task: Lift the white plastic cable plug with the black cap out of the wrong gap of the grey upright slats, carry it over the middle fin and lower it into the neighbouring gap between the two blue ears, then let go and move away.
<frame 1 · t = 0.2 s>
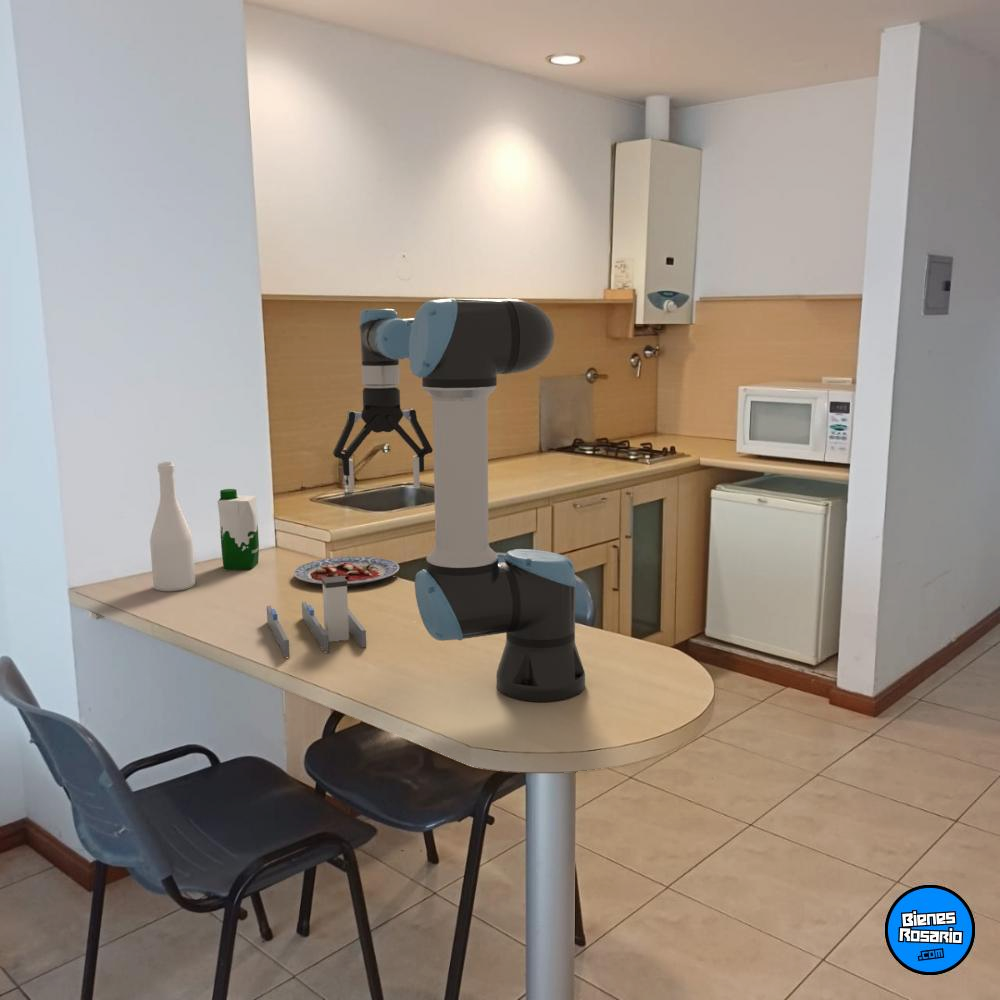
hand: (384, 489, 200), 27 cm above the table, tool pointing down, fingers open, 13 cm apart
grey upright slats: (314, 634, 194), on the table
milk carton: (241, 567, 249), on the table
plug: (336, 638, 191), on the table
wine bottle: (175, 587, 230), on the table
ceramic plate: (347, 578, 238), on the table
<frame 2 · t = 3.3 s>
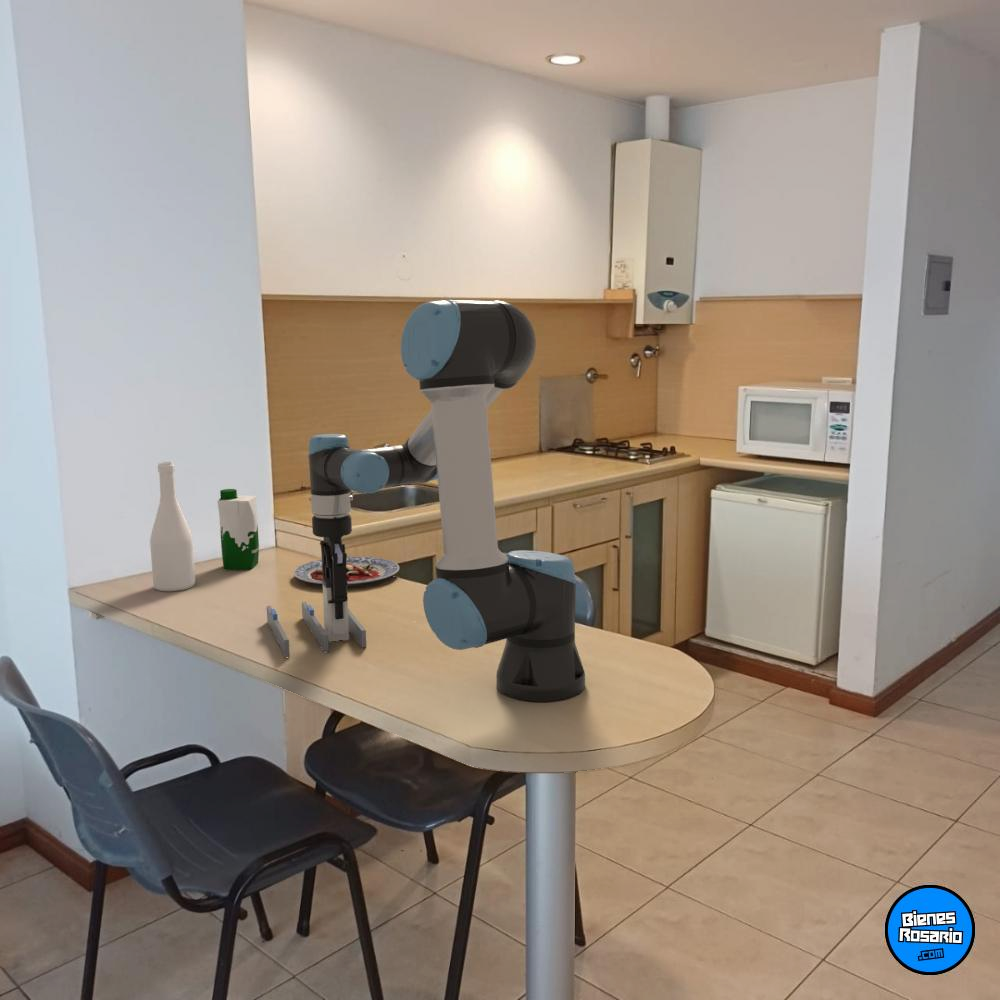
hand: (336, 629, 191), 2 cm above the table, tool pointing down, fingers closed on plug, 4 cm apart
plug: (336, 638, 191), on the table, touching gripper
everything else where it was.
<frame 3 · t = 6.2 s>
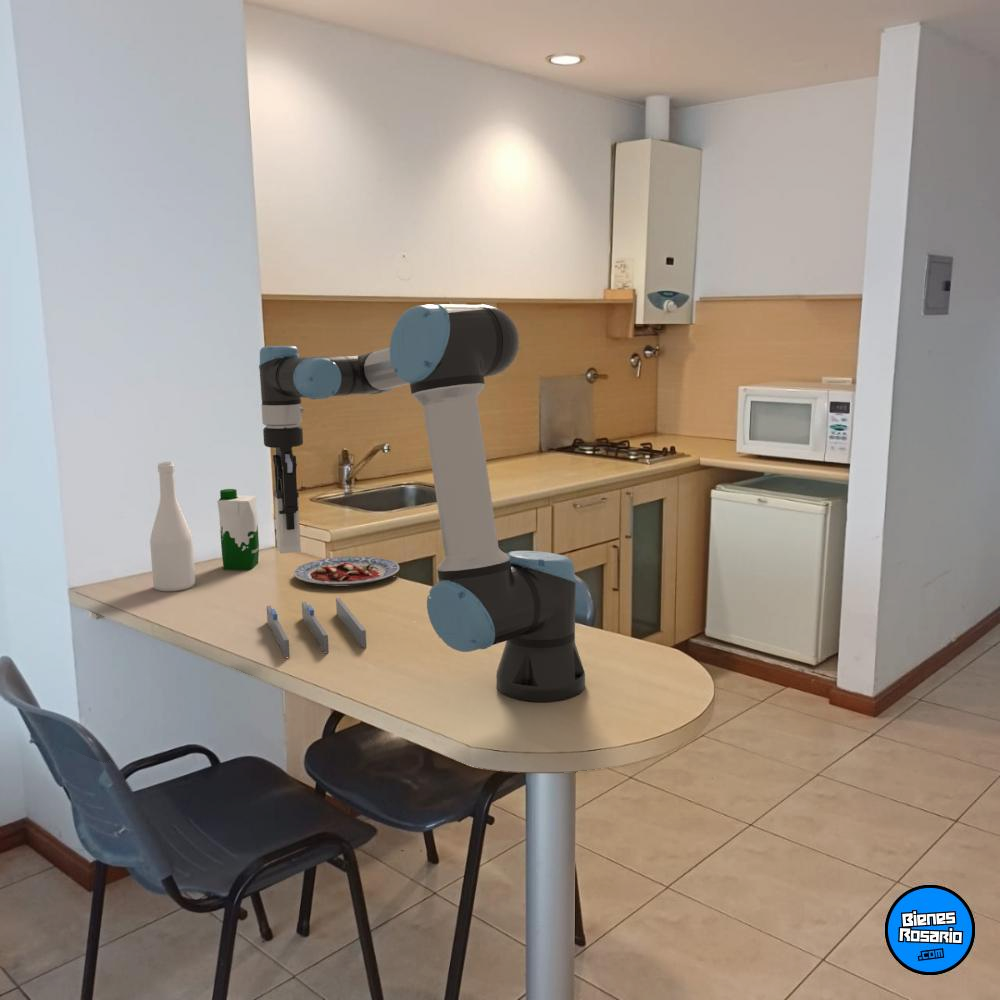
hand: (288, 542, 193), 18 cm above the table, tool pointing down, fingers closed on plug, 4 cm apart
plug: (289, 550, 193), point 17 cm above the table, touching gripper
everything else where it was.
when the fingers open (3 cm above the table, at t = 9.2 s): plug drops 1 cm, on the table.
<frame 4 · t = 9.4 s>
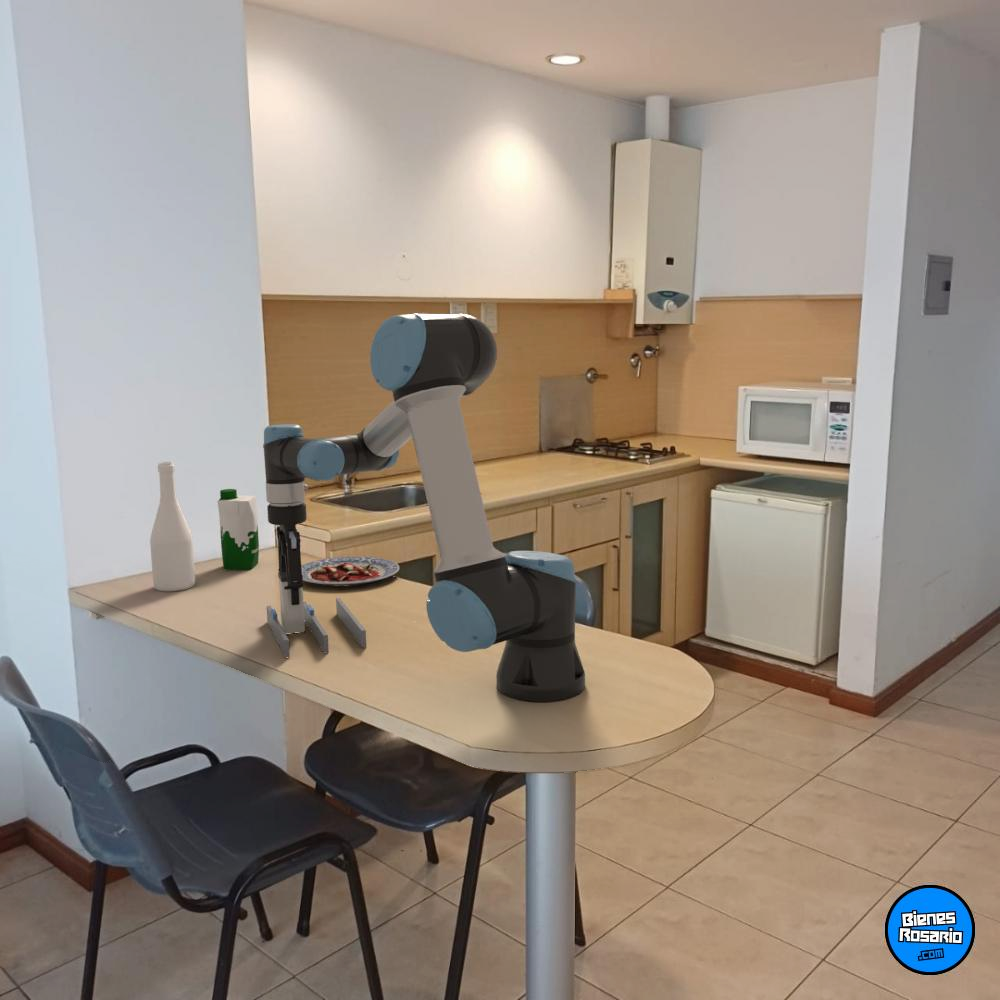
hand: (292, 614, 196), 4 cm above the table, tool pointing down, fingers open, 7 cm apart
plug: (293, 630, 196), on the table
everything else where it was.
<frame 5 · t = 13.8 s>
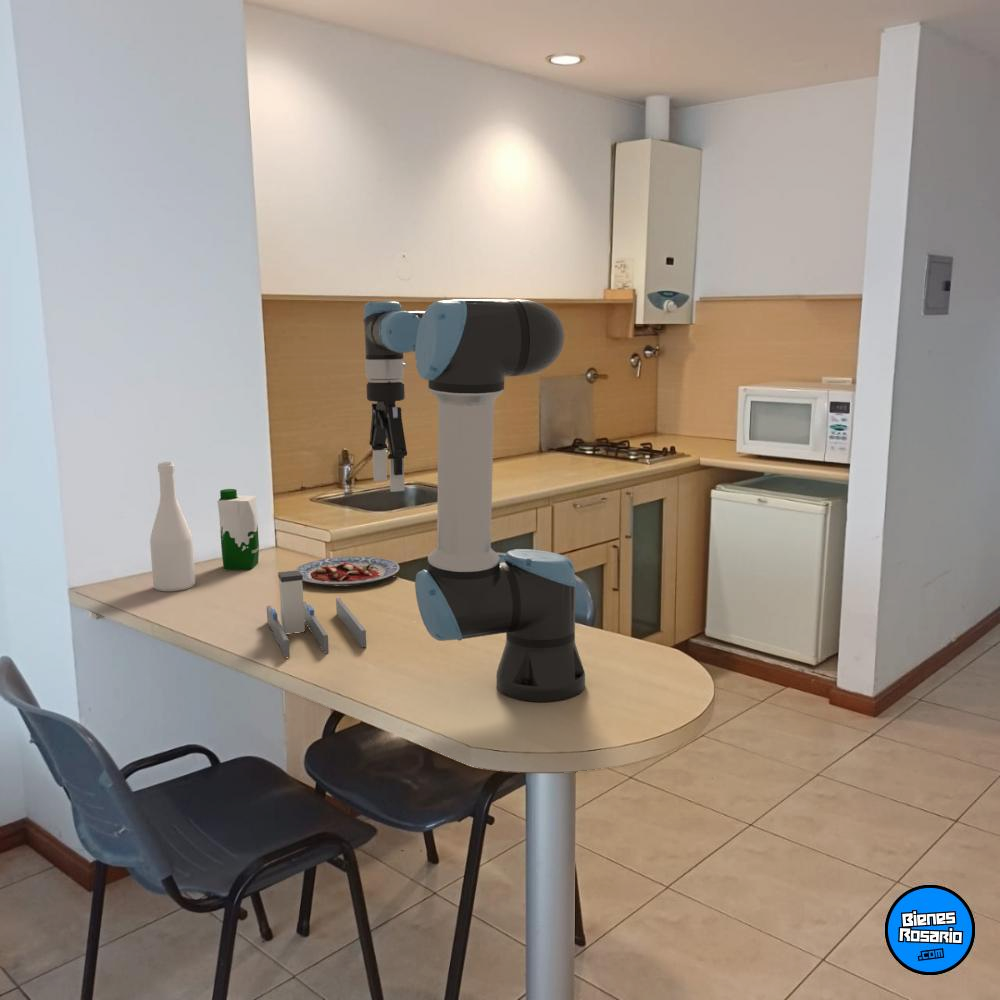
hand: (388, 486, 196), 29 cm above the table, tool pointing down, fingers open, 13 cm apart
nothing on the table moved.
at the end: plug 0.1 cm from the target spot, on the table; plug tilted 0°; the gripper is holding nothing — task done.
